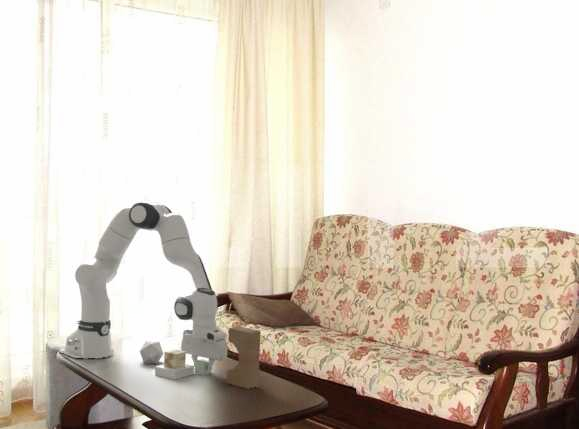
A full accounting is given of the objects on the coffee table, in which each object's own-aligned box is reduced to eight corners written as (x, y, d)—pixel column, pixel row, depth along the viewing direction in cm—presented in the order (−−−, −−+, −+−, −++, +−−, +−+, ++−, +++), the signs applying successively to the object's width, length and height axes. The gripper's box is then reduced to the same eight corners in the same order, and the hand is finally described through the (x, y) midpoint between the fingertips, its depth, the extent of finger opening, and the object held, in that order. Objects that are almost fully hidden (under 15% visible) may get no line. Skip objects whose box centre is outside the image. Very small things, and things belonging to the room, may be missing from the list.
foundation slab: (155, 374, 268) (155, 366, 268) (173, 369, 277) (174, 361, 277) (175, 379, 263) (175, 371, 263) (193, 374, 271) (194, 366, 271)
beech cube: (164, 366, 269) (164, 351, 269) (174, 363, 274) (174, 349, 273) (175, 369, 266) (175, 354, 266) (185, 366, 270) (185, 351, 270)
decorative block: (225, 383, 261) (227, 327, 260) (237, 380, 265) (239, 325, 264) (247, 390, 253) (249, 332, 252) (259, 387, 257) (261, 330, 257)
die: (151, 368, 280) (167, 346, 283) (132, 355, 281) (148, 333, 284) (154, 370, 288) (169, 349, 291) (136, 358, 289) (151, 337, 292)
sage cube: (194, 373, 273) (194, 361, 273) (202, 370, 277) (202, 359, 277) (203, 375, 271) (203, 363, 271) (211, 372, 274) (211, 361, 274)
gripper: (178, 329, 276) (176, 365, 277) (219, 337, 265) (218, 374, 266) (189, 326, 282) (188, 362, 282) (230, 334, 270) (229, 371, 271)
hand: (203, 368), depth 274 cm, fingers open, 5 cm apart
